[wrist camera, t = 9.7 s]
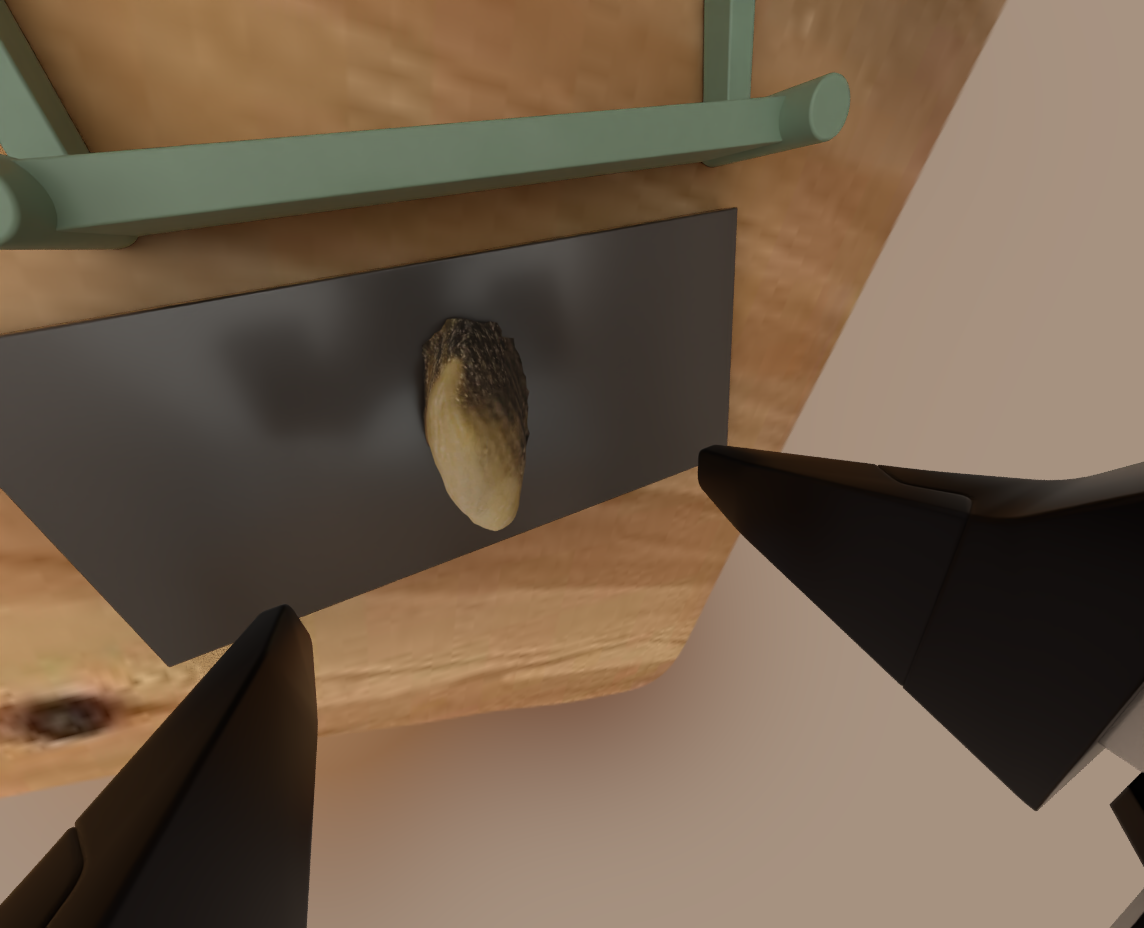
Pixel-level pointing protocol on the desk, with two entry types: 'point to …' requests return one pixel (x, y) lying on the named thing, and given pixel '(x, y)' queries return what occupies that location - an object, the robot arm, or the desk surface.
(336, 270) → the desk surface
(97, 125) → the desk surface
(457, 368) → the brazil nut
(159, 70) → the desk surface
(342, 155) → the frame
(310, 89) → the desk surface
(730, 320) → the board
